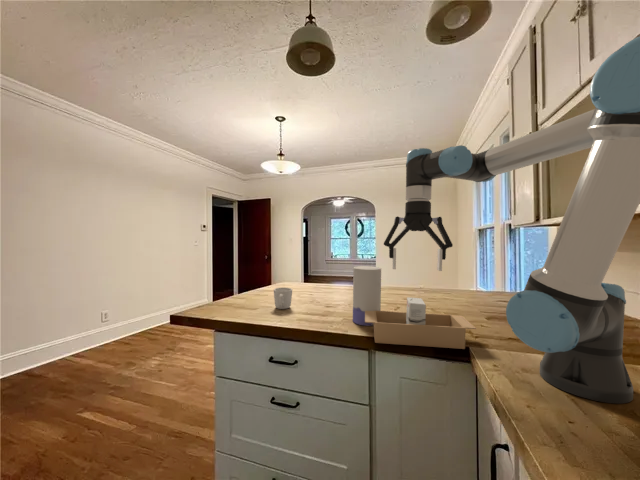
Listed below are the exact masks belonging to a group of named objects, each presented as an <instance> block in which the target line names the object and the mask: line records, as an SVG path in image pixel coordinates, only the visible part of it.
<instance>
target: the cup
mask: <svg viewBox="0 0 640 480" xmlns="http://www.w3.org/2000/svg"><path fill="white" fill-rule="evenodd" d="M292 296H293V288H290V287H276V288H274V289H273V299H274V307H275V308H277V309H278V310H287V309H289V308H290V307H291V305H292V299H293V297H292Z"/></svg>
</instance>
